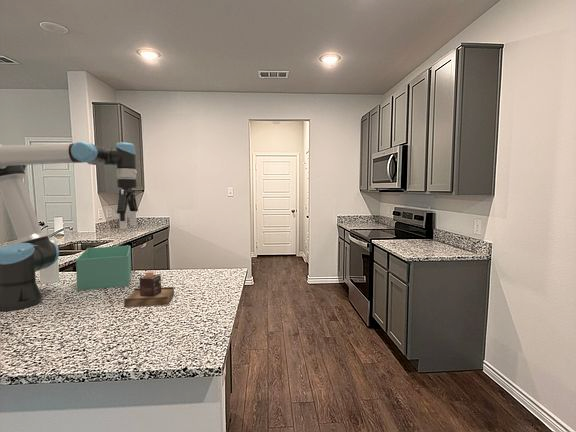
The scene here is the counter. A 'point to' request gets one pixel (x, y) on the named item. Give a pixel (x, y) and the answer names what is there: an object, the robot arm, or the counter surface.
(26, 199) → the robot arm
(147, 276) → the tan rounded cube
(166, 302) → the dock
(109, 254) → the box
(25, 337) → the counter surface
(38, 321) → the counter surface
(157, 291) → the box
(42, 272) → the milk
